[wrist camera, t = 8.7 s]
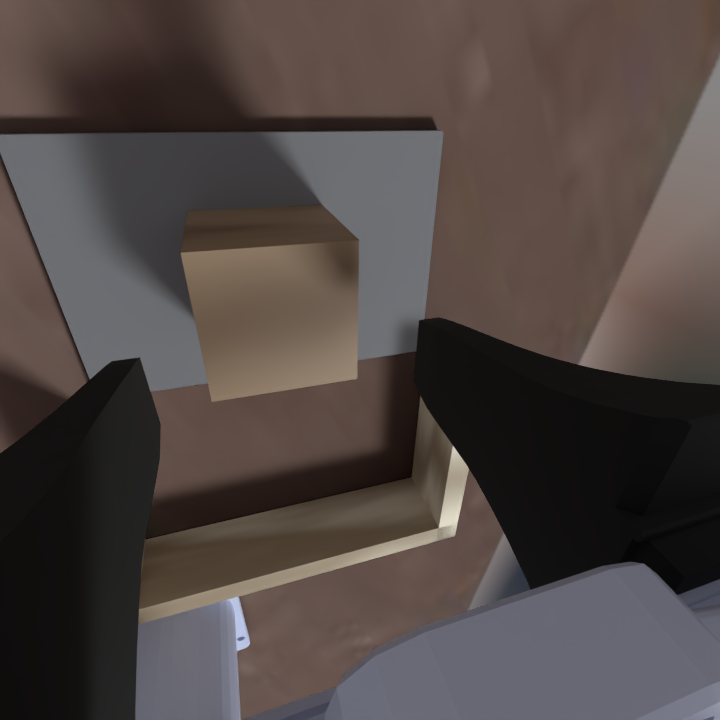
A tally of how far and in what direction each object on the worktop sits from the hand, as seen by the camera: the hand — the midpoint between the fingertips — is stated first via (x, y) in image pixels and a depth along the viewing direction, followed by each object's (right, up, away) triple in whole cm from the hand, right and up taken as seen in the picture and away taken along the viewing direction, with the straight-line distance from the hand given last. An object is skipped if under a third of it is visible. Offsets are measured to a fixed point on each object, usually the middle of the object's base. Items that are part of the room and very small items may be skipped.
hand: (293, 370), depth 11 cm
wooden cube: (-2, +4, +6) cm, 8 cm away
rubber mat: (-2, +4, +7) cm, 8 cm away
